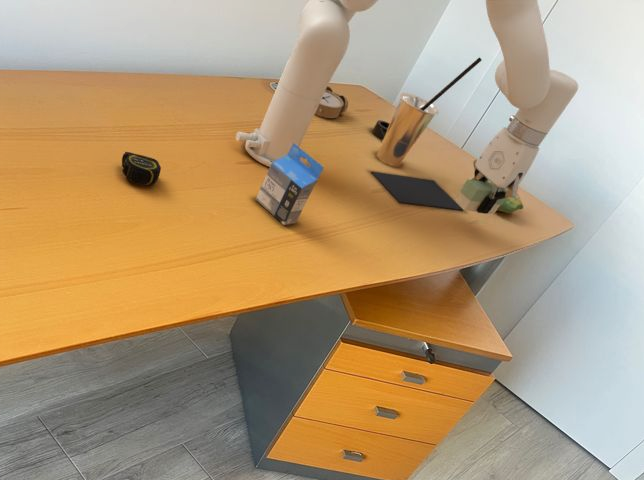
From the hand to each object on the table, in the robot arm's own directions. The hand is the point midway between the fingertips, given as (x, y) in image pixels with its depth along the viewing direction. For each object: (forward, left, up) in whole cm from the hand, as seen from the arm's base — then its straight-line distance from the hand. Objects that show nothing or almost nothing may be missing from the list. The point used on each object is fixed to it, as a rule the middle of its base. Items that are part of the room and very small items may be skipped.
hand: (476, 205), depth 157 cm
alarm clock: (-11, +53, -5) cm, 54 cm away
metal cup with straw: (-4, +27, -5) cm, 28 cm away
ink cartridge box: (-53, -3, -5) cm, 53 cm away
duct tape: (+3, +42, -5) cm, 42 cm away
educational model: (+20, +13, -5) cm, 25 cm away
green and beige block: (0, 0, 0) cm, 0 cm away
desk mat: (-5, +13, -5) cm, 15 cm away
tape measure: (-80, +4, -5) cm, 80 cm away
